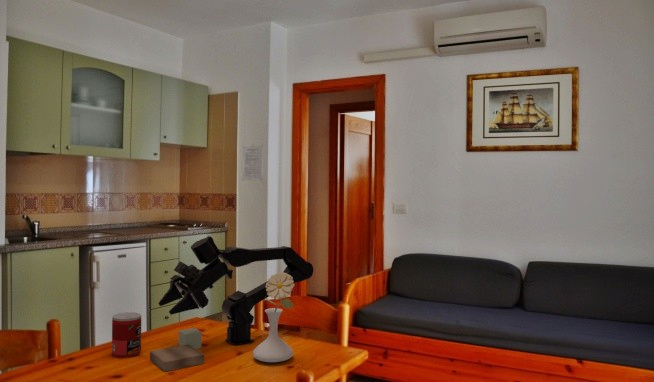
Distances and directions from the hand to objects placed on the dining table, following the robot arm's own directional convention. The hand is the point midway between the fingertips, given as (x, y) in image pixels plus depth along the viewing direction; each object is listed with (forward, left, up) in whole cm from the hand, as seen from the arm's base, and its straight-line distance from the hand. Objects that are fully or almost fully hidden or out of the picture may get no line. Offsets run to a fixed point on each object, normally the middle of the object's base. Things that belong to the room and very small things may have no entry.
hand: (164, 308), depth 148 cm
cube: (-8, -1, -13) cm, 16 cm away
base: (0, +9, -13) cm, 16 cm away
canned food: (+9, -6, -13) cm, 17 cm away
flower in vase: (-23, +23, -13) cm, 35 cm away
